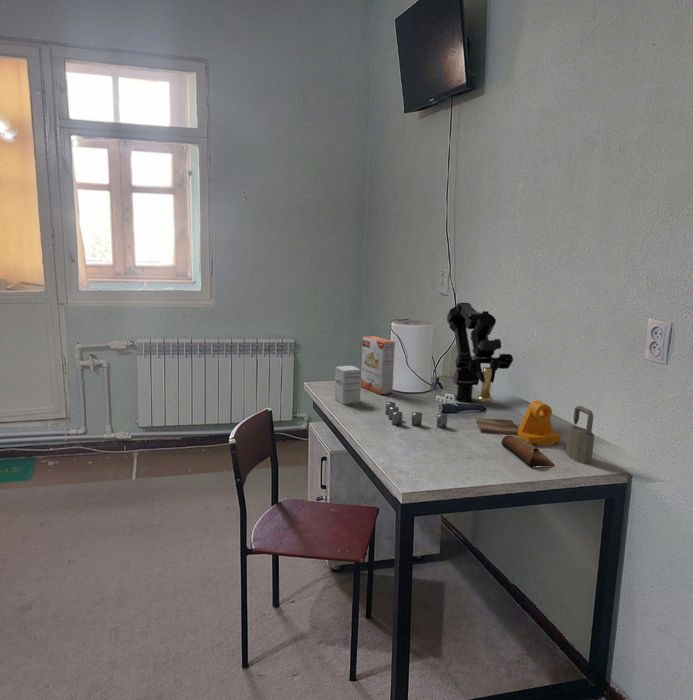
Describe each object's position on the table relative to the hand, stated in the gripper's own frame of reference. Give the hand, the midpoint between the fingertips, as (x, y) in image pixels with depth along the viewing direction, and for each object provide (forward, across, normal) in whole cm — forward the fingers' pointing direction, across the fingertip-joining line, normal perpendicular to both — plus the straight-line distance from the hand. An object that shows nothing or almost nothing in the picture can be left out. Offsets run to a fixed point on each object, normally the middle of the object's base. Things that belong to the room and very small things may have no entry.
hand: (487, 382), depth 198 cm
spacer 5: (+15, -17, +4) cm, 23 cm away
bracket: (+24, +11, -5) cm, 27 cm away
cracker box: (-16, -33, +36) cm, 51 cm away
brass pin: (+4, 0, +6) cm, 7 cm away
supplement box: (-5, -45, +24) cm, 52 cm away
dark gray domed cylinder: (+14, -25, +5) cm, 29 cm away
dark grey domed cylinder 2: (+10, -31, +9) cm, 34 cm away
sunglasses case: (+33, +2, -14) cm, 36 cm away
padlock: (+34, +17, -15) cm, 41 cm away
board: (+15, +2, +4) cm, 16 cm away
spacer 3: (+14, -31, +5) cm, 34 cm away
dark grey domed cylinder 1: (+6, -32, +13) cm, 35 cm away
